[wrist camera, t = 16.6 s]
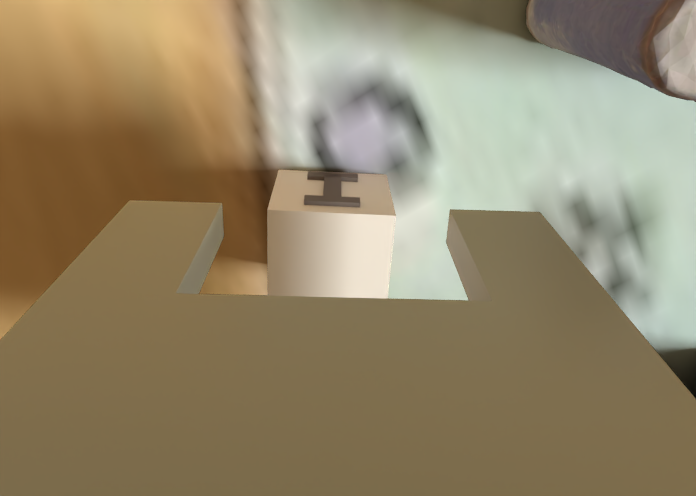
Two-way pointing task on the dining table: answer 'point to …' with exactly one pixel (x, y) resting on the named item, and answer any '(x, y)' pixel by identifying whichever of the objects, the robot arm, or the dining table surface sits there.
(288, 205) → the letter cube
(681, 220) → the dining table surface
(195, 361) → the olive cover
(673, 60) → the flask
